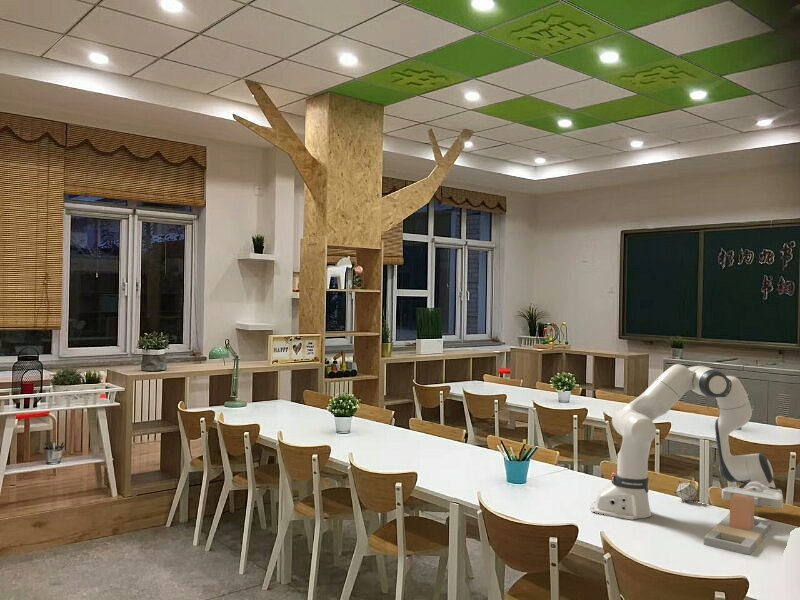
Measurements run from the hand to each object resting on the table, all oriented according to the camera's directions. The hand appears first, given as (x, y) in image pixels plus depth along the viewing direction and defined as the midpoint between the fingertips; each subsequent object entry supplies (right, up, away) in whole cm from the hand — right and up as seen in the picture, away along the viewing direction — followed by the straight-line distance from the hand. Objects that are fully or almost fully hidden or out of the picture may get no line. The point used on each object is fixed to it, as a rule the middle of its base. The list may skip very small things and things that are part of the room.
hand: (747, 502), depth 244 cm
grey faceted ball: (-8, -10, +32) cm, 35 cm away
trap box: (-8, -9, -9) cm, 15 cm away
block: (-5, -7, -6) cm, 10 cm away
